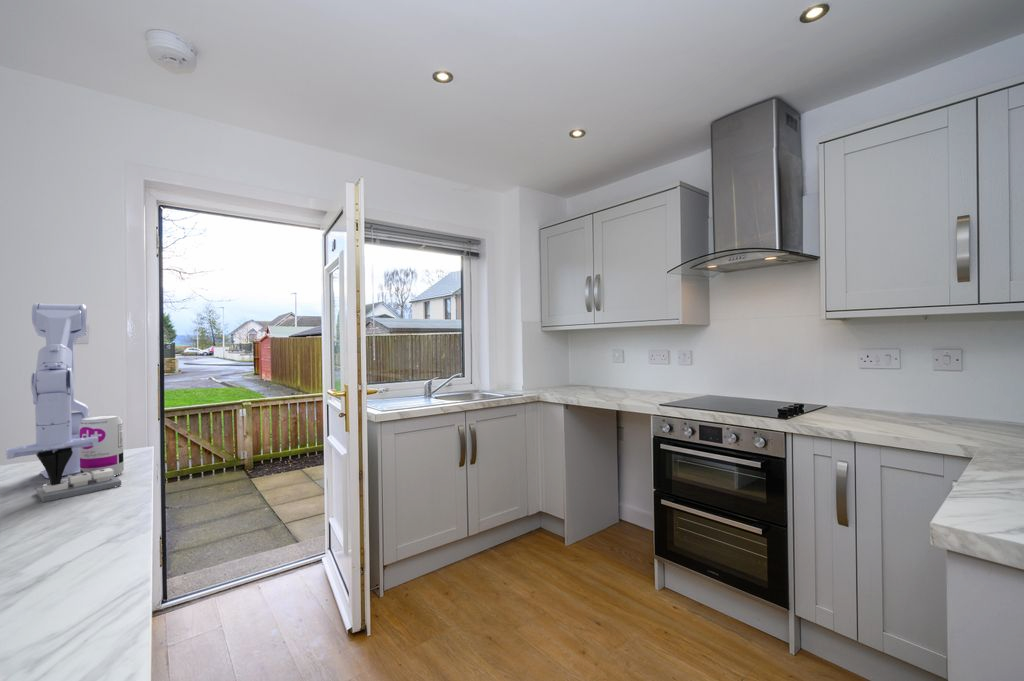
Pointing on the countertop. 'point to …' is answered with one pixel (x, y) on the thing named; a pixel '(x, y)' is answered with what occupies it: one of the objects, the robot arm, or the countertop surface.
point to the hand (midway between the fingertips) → (55, 483)
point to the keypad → (78, 489)
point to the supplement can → (102, 444)
